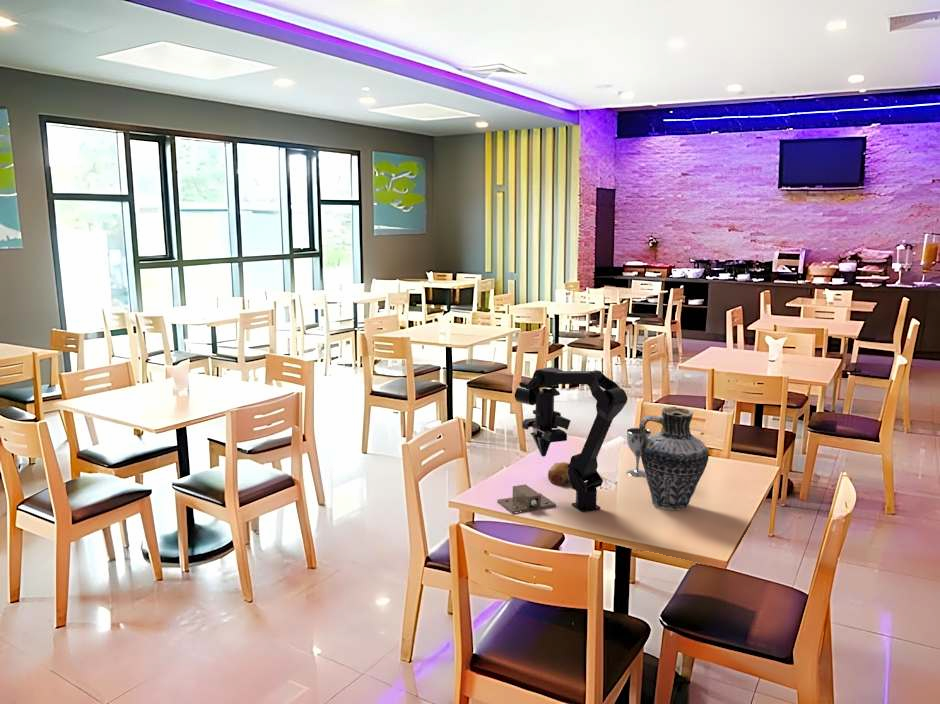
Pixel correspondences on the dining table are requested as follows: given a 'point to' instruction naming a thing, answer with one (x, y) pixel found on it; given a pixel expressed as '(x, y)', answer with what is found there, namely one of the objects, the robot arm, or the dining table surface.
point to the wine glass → (636, 448)
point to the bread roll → (559, 474)
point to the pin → (533, 502)
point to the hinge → (525, 500)
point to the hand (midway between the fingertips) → (543, 456)
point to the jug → (672, 459)
